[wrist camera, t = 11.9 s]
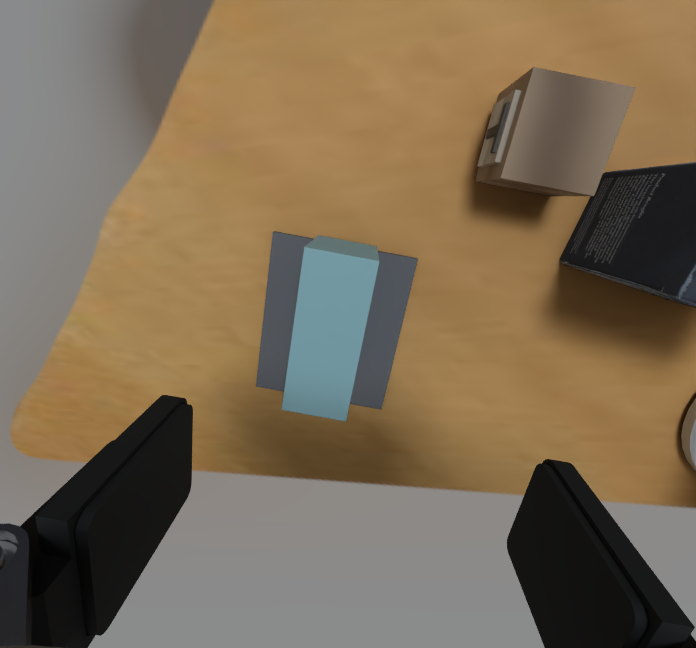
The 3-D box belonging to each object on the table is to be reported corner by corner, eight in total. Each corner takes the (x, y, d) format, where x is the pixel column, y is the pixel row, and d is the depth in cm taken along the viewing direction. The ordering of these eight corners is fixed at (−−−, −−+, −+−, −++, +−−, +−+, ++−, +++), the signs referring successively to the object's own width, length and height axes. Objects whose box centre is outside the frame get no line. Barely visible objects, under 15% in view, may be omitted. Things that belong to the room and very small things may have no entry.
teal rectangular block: (376, 246, 25) (379, 261, 20) (350, 376, 28) (345, 421, 23) (318, 235, 25) (304, 247, 19) (298, 366, 28) (281, 409, 23)
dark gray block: (416, 258, 26) (417, 259, 25) (381, 406, 30) (381, 409, 29) (274, 231, 26) (273, 232, 25) (257, 383, 30) (256, 386, 29)
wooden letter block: (579, 110, 23) (635, 87, 18) (549, 195, 24) (594, 196, 19) (491, 92, 22) (524, 65, 18) (467, 180, 24) (492, 176, 19)
